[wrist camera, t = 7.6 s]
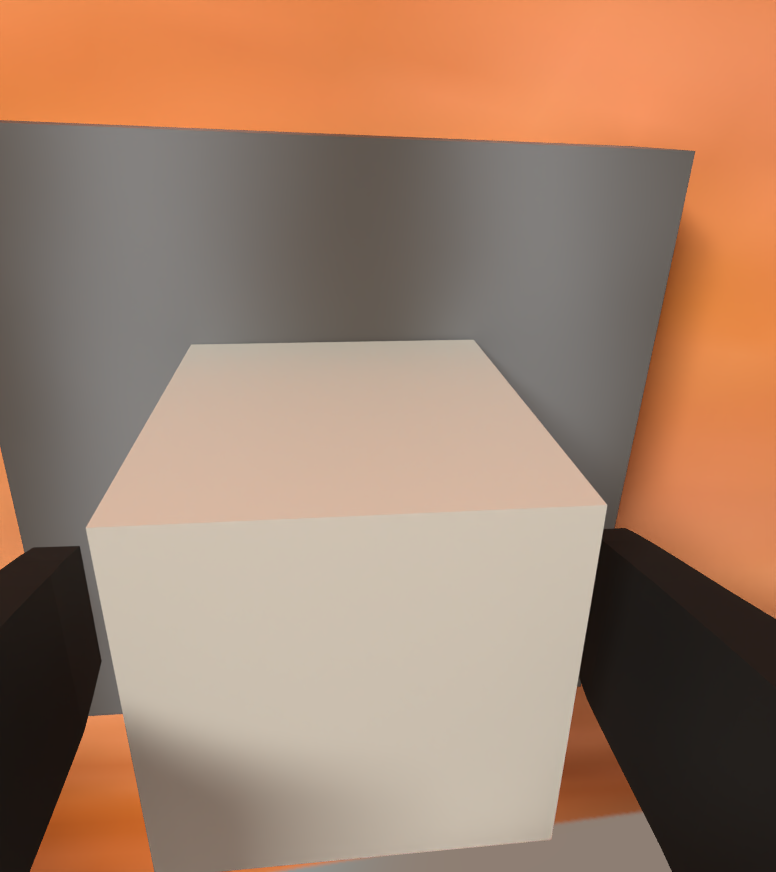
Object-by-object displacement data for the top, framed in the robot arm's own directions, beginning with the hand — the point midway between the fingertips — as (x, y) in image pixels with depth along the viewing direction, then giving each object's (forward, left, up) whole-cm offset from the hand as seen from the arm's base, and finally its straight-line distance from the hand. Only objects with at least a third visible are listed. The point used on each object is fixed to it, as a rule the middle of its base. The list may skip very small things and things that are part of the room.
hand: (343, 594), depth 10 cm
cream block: (0, 0, -4) cm, 4 cm away
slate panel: (0, 0, -7) cm, 7 cm away
